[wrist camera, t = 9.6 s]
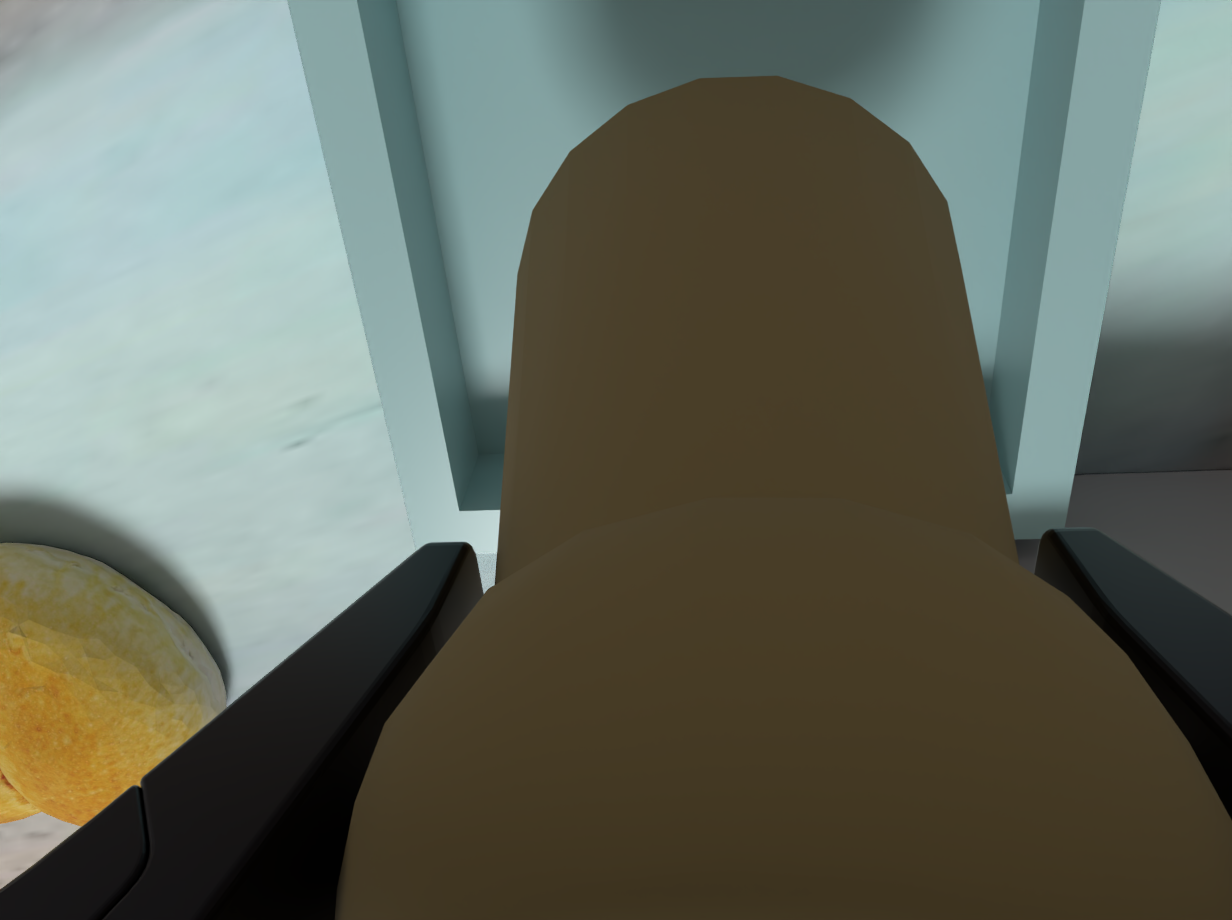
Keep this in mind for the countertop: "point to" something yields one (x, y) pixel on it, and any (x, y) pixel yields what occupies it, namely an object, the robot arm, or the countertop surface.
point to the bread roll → (90, 683)
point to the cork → (767, 580)
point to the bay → (1160, 524)
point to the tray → (666, 58)
